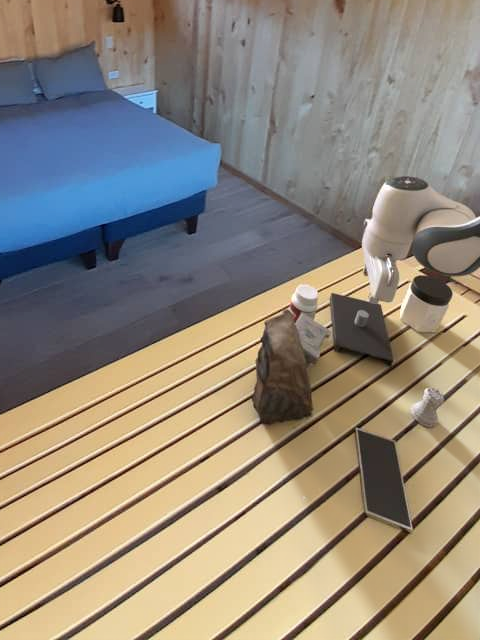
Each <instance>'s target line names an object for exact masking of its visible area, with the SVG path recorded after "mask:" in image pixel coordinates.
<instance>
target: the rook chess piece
mask: <svg viewBox="0 0 480 640" xmlns="http://www.w3.org/2000/svg"><path fill="white" fill-rule="evenodd" d="M423 393H424V394H423V396H422V398H423V399H422V400H421V401H417V402H415V403H413V405H412V406H411V408H410V413H411V415H412V417H413V418H414V420H415V421H416V422H418V423H419V424H420V425H422V426H424V427H429V428H430V427H435V426H436V425H437V422H438V421H439V419H438V412H437V409H438V408H440V407H441V405H442V404H444V402H445V399H444V394H443V392H440V389H438V388H436V389H435V387H434V386H430V387H427V388H425V389H424V391H423Z"/></svg>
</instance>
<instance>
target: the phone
mask: <svg viewBox="0 0 480 640" xmlns="http://www.w3.org/2000/svg"><path fill="white" fill-rule="evenodd" d="M354 437H355V446H356V453H357V462H358V470H359V479H360V487H361V496H362V504H363V514H364V516H367V517H369V518H372V519H373V520H377V521H379V522H382V523H385V524H386V525H389V526H392V527H394V528H397V529H398V530H399V529H400V530H402V531H405V532H408V534H409V533H410V534H413V532H414V528H413V522H412V518H411V513H410V512H411V511H410V507H409V502H408V498H407V492H406V487H405V482H404V478H403V477H404V476H403V473H402V472H403V471H402V467H401V462H400V458H399V457H400V455H399V452H398V447H397V442H396V440H395V439H392V438H388V437H387V436H386V437H385V436H383V435H379V434H376V433H375V432H371V431H367V430H365V429H362V428H359V427H355V429H354Z"/></svg>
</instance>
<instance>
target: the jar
mask: <svg viewBox="0 0 480 640" xmlns="http://www.w3.org/2000/svg"><path fill="white" fill-rule="evenodd" d="M453 295H454V293H453V290H452V288H451V287H450V286H449V285H448V284H447V283H445V282H444V281H443V280H440V279H438V278H436V277H434V276H431V275H425V274H423V275H422V274H421V275H416V276H415V277H414V278H413V279H412V282H410V284H409V286H408V289H407V292H406V293H405V297H404V299H403V301H402V303H401V306H400V312H399V320H400V321H402V322H403V323H404V324H406V325H407V326H408V327H410V328H412V329H413V330H414V331H416V332H417V333H434V332H436V333H437V332H438V330H439V327H440V326H441V323H442V321H443V319H444V317H445V316H446V313H447V311H448V309H449V307H450V306H449V305H450V304H449V303H450V302H451V301H452V298H453Z"/></svg>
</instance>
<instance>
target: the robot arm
mask: <svg viewBox="0 0 480 640" xmlns="http://www.w3.org/2000/svg"><path fill="white" fill-rule="evenodd" d="M363 229H364V230H363V235H362V240H361V249H362V254H363V259H364V267H363V269H362V272H363V276H364V277H367V278H368V283H369V287H370V291H371V292H369V294H368V302H370V303H372V304H379V302H384V303H389V304H390V303H392V302H394V300H395V297H396V294H397V290H398V286H399V284H400V283H399V282H400V272H399V268H398V265H397V261H402V260H405V259H406V258H407V257H408V254H409V251H410V249H412V254H413V257H414V258H415V260H416V261H417V262H418V263H419V264H420V265H421V266H422V267H423V268H425V269H426V270H428V271H430V272H432V273H433V274H434V273H435V274H437V275H441V276H444V277H453V278H454V277H456V278H458V277H464V276H468V275H471V274H473V273H474V272H476V271H478V270H479V269H480V216H477V215H476V213H475V212H474V211H473V210H472V209H471V207H469V206H468V205H467V204H465V203H463V202H461V201H457V200H454V199H452V198H448V197H447V196H445V195H443V194H441V193H439V192H438V191H437V190H435V189H434V188H433V187H432V186H431V185H430V184H429V183H428V182H427V181H426V180H424V179H421V178H418V177H415V176H410V175H409V176H405V175H402V176H400V175H399V176H395V177H391V178H390V179H388V180H386V182H384V183H383V185H382V186H381V188H380V189H379V192H378V193H377V195H376V198H375V200H374V204H373V207H372V216H371V218H365V219H364V222H363Z"/></svg>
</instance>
